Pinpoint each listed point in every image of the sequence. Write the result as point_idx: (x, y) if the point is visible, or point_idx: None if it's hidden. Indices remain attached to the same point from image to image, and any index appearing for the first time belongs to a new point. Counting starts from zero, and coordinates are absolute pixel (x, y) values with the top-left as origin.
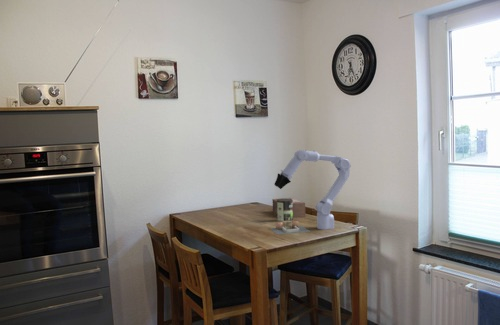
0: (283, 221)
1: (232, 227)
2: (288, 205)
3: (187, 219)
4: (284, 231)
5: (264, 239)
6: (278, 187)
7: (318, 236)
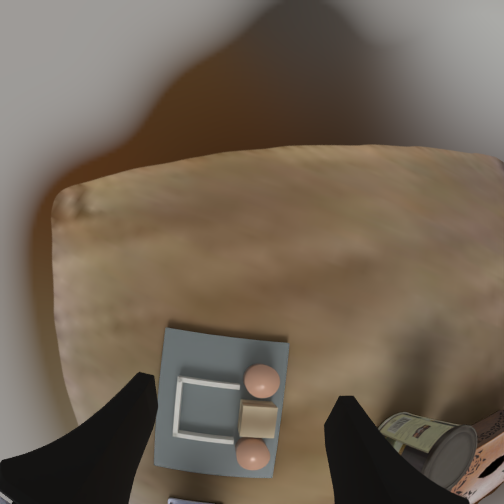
0: (269, 407)
1: (375, 222)
2: None
3: (469, 159)
4: (199, 378)
5: (147, 262)
6: (136, 376)
7: None
